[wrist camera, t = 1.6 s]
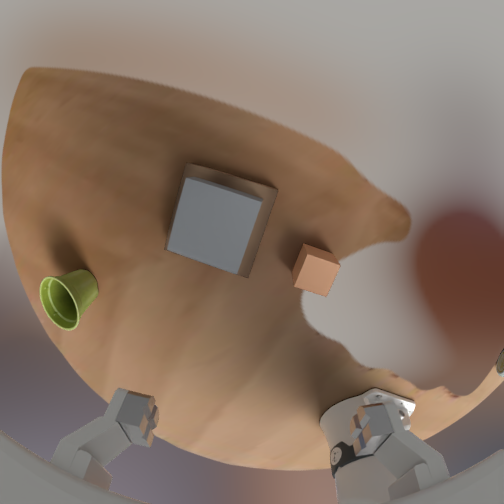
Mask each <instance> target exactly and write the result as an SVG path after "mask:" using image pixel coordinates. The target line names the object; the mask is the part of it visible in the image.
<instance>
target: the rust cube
mask: <svg viewBox="0 0 504 504" xmlns="http://www.w3.org/2000/svg"><path fill="white" fill-rule="evenodd" d="M339 268H340V264H339V262H338V261H337V259H336V258H335V256H334V255H333V254H332V253H329V252H327V251H324V250H321V249H318V248H315V247H313V246H310V245H307V244H304V243H303V245H302V248H301V250H300V253H299V256H298V258H297V261H296V263H295V266H294V268H293V271H292V276H293V282H294V287H297V288H300V289H303V290H306V291H310V292H313V293H316V294H319V295H322V296H325V297H326V296H327V295H328V292H329V290H330V288H331V286H332V284H333V282H334V279H335V277H336V275H337V273H338V270H339Z"/></svg>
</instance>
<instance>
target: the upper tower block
mask: <svg viewBox="0 0 504 504" xmlns="http://www.w3.org/2000/svg"><path fill="white" fill-rule="evenodd" d="M262 201H263V199H262V198H259V197H256V196H253V195H250V194H247V193H244V192H241V191H238V190H235V189H232V188H229V187H226V186H223V185H220V184H217V183H213V182H210V181H207V180H204V179H201V178H197V177H187V178H186V180H185V183H184V186H183V190H182V193H181V197H180V201H179V204H178V208H177V212H176V215H175V219H174V223H173V227H172V231H171V235H170V239H169V244H168V248H167V250H169V251H172V252H175V253H177V254H180V255H183V256H186V257H188V258H191V259H194V260H197V261H200V262H202V263H205V264H208V265H211V266H214V267H216V268H219V269H222V270H225V271H228V272H231V273H234V274H236V275H237V273H238V270H239V267H240V264H241V261H242V258H243V255H244V253H245V250H246V247H247V244H248V241H249V238H250V235H251V232H252V230H253V227H254V224H255V221H256V218H257V215H258V212H259V210H260V207H261V204H262Z"/></svg>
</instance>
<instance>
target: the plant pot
mask: <svg viewBox="0 0 504 504" xmlns="http://www.w3.org/2000/svg"><path fill="white" fill-rule="evenodd" d="M97 296H98V288H97V281H96V279H95V278H94V276H93V275H92V274H91V273H90V272H89V271H87V270H82V269H79V270H76V271H73V272H71V273H68V274H65V275H62V276H56V277H53V276H48V277H46V278H44V279H43V280H42V282H41V285H40V299H41V302H42V305H43V308H44V310H45V312H46V313H47V315H48V316H49V318H50V319H51V320H52V321H53V322H54V323H55V324H56V325H57V326H59V327H60V328H62V329H64V330H73V329H75V328H76V327H77V326H78V323H79V320H80V318H81V315H82V314H83V313H84V312H85V310H86V309H87V308H88V307H89V305H90V304H91V303H92V302H93V301H94V300H95V298H96V297H97Z"/></svg>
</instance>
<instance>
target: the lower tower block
mask: <svg viewBox="0 0 504 504" xmlns="http://www.w3.org/2000/svg"><path fill="white" fill-rule="evenodd" d="M187 177H197V178H201V179H204V180H207V181H210V182H213V183H217V184H220V185H223V186H226V187H229V188H232V189H235V190H238V191H241V192H244V193H247V194H250V195H253V196H256V197H259V198H262V199H263V201H262V204H261V207H260V210H259V212H258V215H257V218H256V221H255V224H254V227H253V230H252V232H251V235H250V238H249V241H248V244H247V247H246V250H245V253H244V255H243V258H242V261H241V264H240V267H239V270H238V273H237V275H240V276H243V277H246V278H248V277H249V274H250V271H251V268H252V265H253V262H254V260H255V257H256V254H257V251H258V248H259V245H260V242H261V239H262V236H263V234H264V231H265V228H266V225H267V222H268V219H269V216H270V213H271V210H272V207H273V205H274V202H275V199H276V196H277V193H278V189H275V188H272V187H269V186H266V185H263V184H260V183H257V182H254V181H251V180H248V179H245V178H241V177H238V176H235V175H232V174H228V173H225V172H222V171H218V170H215V169H212V168H208V167H205V166H201V165H198V164H194V163H186V166H185V169H184V173H183V176H182V180H181V183H180V187H179V191H178V194H177V198H176V202H175V206H174V210H173V214H172V218H171V222H170V226H169V231H168V235H167V240H166V244H165V249H164V250H167V248H168V244H169V239H170V235H171V231H172V227H173V223H174V219H175V215H176V212H177V208H178V204H179V201H180V197H181V193H182V190H183V186H184V183H185V180H186V178H187ZM167 251H169V250H167ZM170 252H172V251H170ZM173 253H175V252H173ZM176 254H177V253H176ZM178 255H180V254H178ZM181 256H183V255H181ZM184 257H186V256H184ZM187 258H188V257H187ZM190 259H191V258H190ZM193 260H194V259H193ZM196 261H197V260H196ZM198 262H200V261H198ZM201 263H202V262H201ZM204 264H205V263H204ZM207 265H208V264H207ZM210 266H211V265H210ZM213 267H214V266H213Z"/></svg>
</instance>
